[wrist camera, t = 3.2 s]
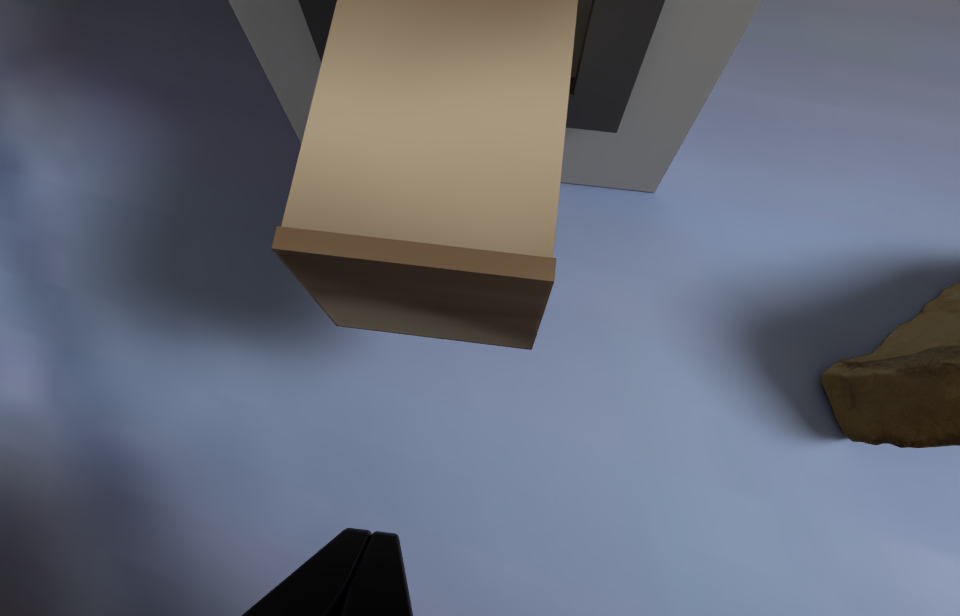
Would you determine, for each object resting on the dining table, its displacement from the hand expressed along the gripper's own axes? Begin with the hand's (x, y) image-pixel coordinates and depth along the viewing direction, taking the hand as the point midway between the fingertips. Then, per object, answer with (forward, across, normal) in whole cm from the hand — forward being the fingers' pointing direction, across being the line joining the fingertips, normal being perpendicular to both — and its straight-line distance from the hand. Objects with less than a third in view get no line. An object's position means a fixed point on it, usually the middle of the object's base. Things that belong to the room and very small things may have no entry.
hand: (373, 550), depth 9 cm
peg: (+10, 0, +5) cm, 11 cm away
